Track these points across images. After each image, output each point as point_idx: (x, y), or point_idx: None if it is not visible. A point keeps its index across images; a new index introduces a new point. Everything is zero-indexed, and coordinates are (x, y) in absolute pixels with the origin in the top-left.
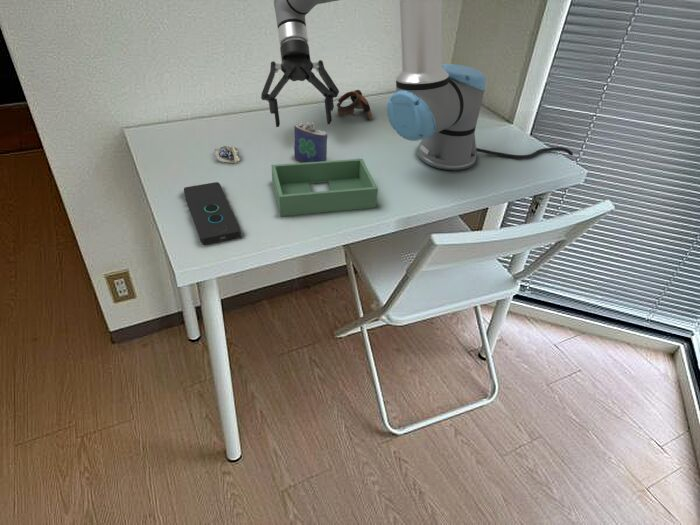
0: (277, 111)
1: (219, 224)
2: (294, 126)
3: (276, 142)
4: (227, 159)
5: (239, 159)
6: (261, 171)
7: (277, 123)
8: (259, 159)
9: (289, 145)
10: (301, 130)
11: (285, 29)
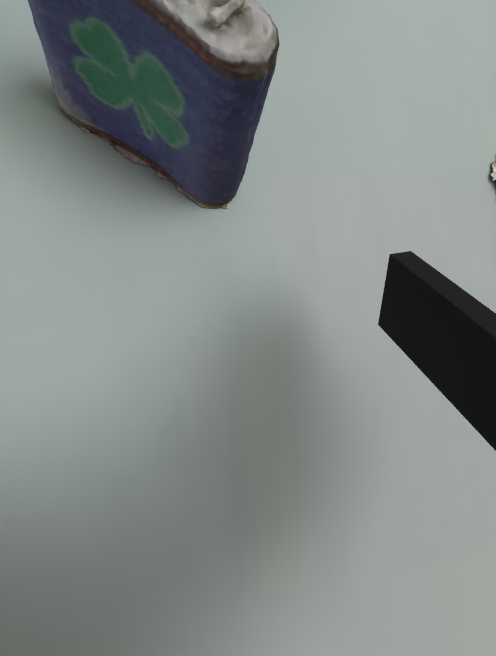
0: (457, 300)
1: None
2: (278, 38)
3: (349, 367)
4: None
5: (493, 175)
6: (379, 78)
7: (405, 253)
8: (406, 182)
9: (273, 333)
10: None
11: None
